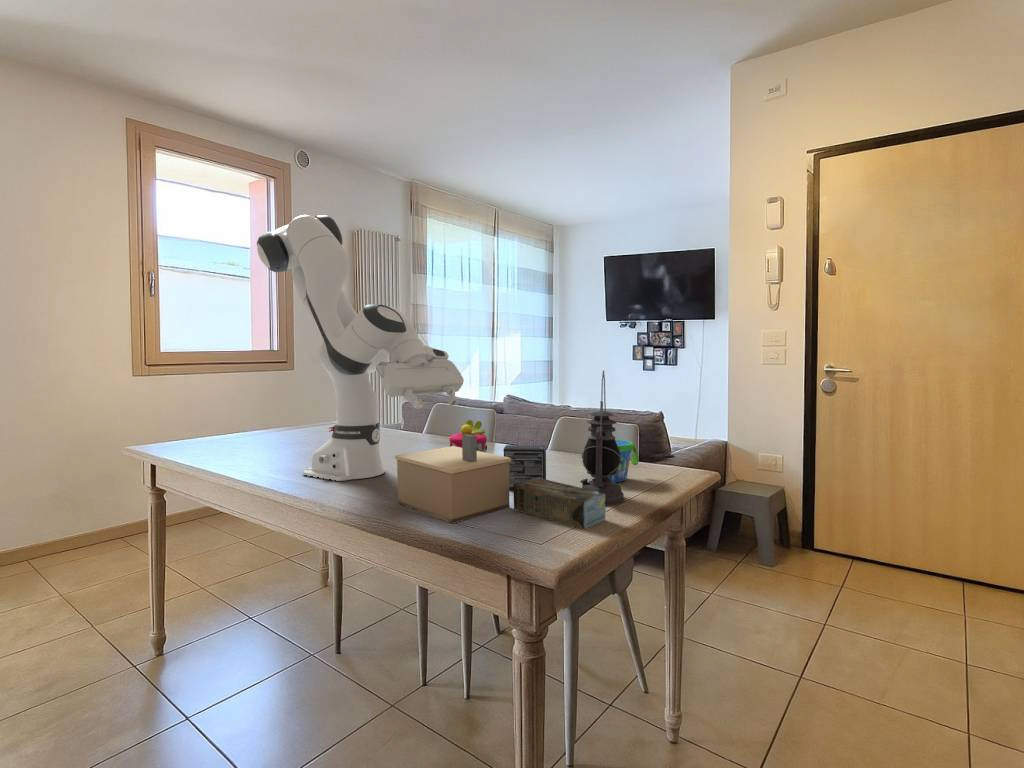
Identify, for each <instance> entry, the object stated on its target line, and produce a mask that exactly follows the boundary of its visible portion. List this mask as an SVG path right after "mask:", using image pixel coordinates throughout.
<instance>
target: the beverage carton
mask: <svg viewBox="0 0 1024 768" xmlns="http://www.w3.org/2000/svg"><path fill="white" fill-rule="evenodd" d="M512 492H513V511H517V512H520V513H525V514H529V515H531V516H534V517H535V516H536V517H538V518H543V519H545V518H546V520H549V521H553V522H557V523H561V524H564V525H567V526H571V525H572V527H575V528H579V529H582V530H583V529H584V530H586V529H588V528H590V527H592V526H594V525H597V524H599V523H602V522H603V521H605V520H606V505H605V494H604V493H601V492H598V491H591V490H588V489H584V488H582V487H579V486H576V485H570V484H567V483H562V482H558V481H553V480H549V479H546V480H545V479H541V478H536V477H535V478H532V479H530V480H525V481H523V482H520V483H516V484H514V486H513V490H512Z"/></svg>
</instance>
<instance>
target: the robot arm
mask: <svg viewBox="0 0 1024 768" xmlns="http://www.w3.org/2000/svg"><path fill="white" fill-rule="evenodd" d="M256 247H257V255H258V257H259V259H260V261H261V262H262V263H263V265H265V267H266V268H267V269H268V270H269V271H271V272H274V273H283V272H287V271H288V270H291V269H292V270H291V277H292V279H293V280H292V281H293V283H294V287H295V288H296V291H297V294H298V296H299V297H300V300H301V302H302V304H303V306H304V307H305V309H306V311H307V313H308V314H309V316H310V317H311V320H312V321H313V323H314V325H315V326H316V328H317V329H318V330H319V332H320V335H321V337H322V339H323V341H322V343H321V345H320V347H319V350H318V359H319V360H318V361H319V363H320V366H321V367H322V368H323V369H324V370H325V371H326V372H327V374H328V376H329V378H330V382H331V385H332V387H333V390H334V395H335V397H334V398H335V408H336V424H335V425H334V426H330V427H328V429H329V430H328V432H329V433H331V432H332V433H331V438H329V439H328V440H327V441H326V442H324V443H323V444H322V445H320V447H318V448H317V449H316V450H315V451H314V452H313V454H312V457H311V465H310V467H308V468H306V469H304V470H303V472H302V476H304V475H307V476H306V477H310V476H313V477H312V478H317V477H319V478H318V479H323V478H324V480H329V479H331V480H330V481H335V480H336V481H337V482H343V481H349V480H350V481H351V480H359V479H368V478H374V477H377V476H380V475H382V474H384V473H385V471H386V470H385V468H384V465H383V461H382V460H383V459H382V455H381V449H380V439H381V437H380V436H381V430H380V423H379V422H378V421H379V419H378V418H379V412H378V395H377V393H376V392H375V391H374V389H373V387H372V385H371V382H370V378H369V374H372V373H374V372H377V374H378V376H380V381H381V385H382V388H383V389H384V392H385V394H386V395H387V396H388V397H391V398H394V397H395V398H396V397H397V398H398V397H403V398H404V400H406V402H409V403H410V404H412V407H413V408H414V409H417V410H418V409H422V408H423V407H424V402H423V401H422V397H417V396H420V395H432V394H433V395H435V394H446V395H447V396H448V398H447V399H446V402H447V403H448V405H449V406H455V405H456V404H457V402H458V398H457V396H456V393H457V392H459V391H460V390H461V388H462V386H463V384H464V376H462V374H461V372H460V371H459V369H458V368H457V366H456V365H455V363H454V362H453V361H451V360H450V359H449V358H450V355H449V354H448V352H447V351H445V350H442V349H437V348H434V347H431V346H428V345H425V344H424V342H423V341H422V340H421V339H420V338H419V336H418V333H417V330H416V329H415V327H414V325H413V324H412V323H411V321H410V320H409V318H408V317H407V316H406V315H405V314H404V313H403V312H402V311H401V310H400V309H399V308H398V307H394V306H388V305H383V304H373V303H371V304H370V303H369V304H366V305H364V306H363V307H362V308H361V309H360V310H359V311H358V312H356V311H355V309H354V308H353V306H352V305H351V303H350V301H349V299H348V298H347V296H346V295H345V294H346V293H344V291H343V287H344V285H345V282H346V280H347V278H348V276H349V274H350V273H349V272H350V261H349V260H350V259H349V256H348V254H347V252H346V250H345V248H344V247H343V235H342V232H341V229H340V227H339V226H338V224H337V222H336V221H335V220H334V218H332V217H331V216H329V215H325V214H324V215H316V216H313V215H307V214H303V215H299V216H296V217H295V218H293V219H291V221H290V222H289V223H288V224H286V225H283V226H282V227H279V228H276V229H274V230H272V231H267V232H265V233H263V234H262V235H260V236H259V237H258V239H257V241H256ZM389 359H390V361H388V360H389Z"/></svg>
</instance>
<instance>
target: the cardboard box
mask: <svg viewBox="0 0 1024 768" xmlns="http://www.w3.org/2000/svg"><path fill="white" fill-rule="evenodd" d="M396 471H397V473H396V474H397V476H396V477H397V504H398V503H400V504H399V505H401V504H402V506H404V505H405V506H404V507H406V506H408V507H407V508H409V507H411V508H410V509H412V508H413V509H412V510H415V509H416V510H415V511H417V510H419V511H418V512H420V511H421V512H420V513H423V512H424V513H423V514H425V513H426V515H428V514H429V515H428V516H431V515H432V516H431V517H433V516H434V518H436V517H437V519H439V518H440V519H439V520H441V519H442V520H441V521H444V520H445V521H444V522H447V521H448V522H447V523H449V522H450V523H449V524H454V523H453V522H456V523H458V522H457V521H459V522H462V521H461V520H463V521H465V519H466V520H469V519H468V518H470V519H472V517H473V518H476V517H480V516H483V515H487V514H490V513H494V512H497V511H500V510H501V511H502V510H504V509H507V508H510V490H509V462H506V463H502V464H497V465H492V466H487V467H482V468H478V469H473V470H468V471H463V472H458V473H454V474H449V473H446V472H442V471H438V470H434V469H431V468H427V467H423V466H419V465H416V464H412V463H408V462H405V461H401V460H397V459H396ZM486 513H487V514H486Z"/></svg>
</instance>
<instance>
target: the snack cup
mask: <svg viewBox="0 0 1024 768" xmlns="http://www.w3.org/2000/svg"><path fill="white" fill-rule="evenodd" d="M615 441H616V444H617V446H618V448H619V451H620V454H621V460H622V463H621V464H620V466H619V468H618V469H617V471H616V474H615V475H613V476H612V477H611V478H608V479H610V480H611V482H614V483H621V482H625V481H626V480H627V478H628V472H629V469H630V468H629V466H630V461H631V465H632V466H638V464H639V454H638V453H639V452H638V449H637V447H636V445H635V444H634V443H633V441H629V440H623V439H615ZM631 454H632V457H631Z"/></svg>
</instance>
